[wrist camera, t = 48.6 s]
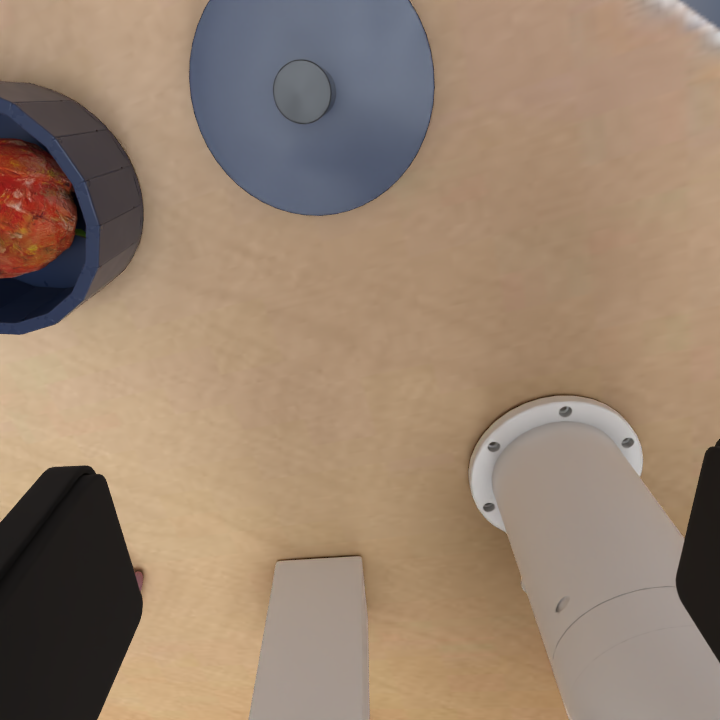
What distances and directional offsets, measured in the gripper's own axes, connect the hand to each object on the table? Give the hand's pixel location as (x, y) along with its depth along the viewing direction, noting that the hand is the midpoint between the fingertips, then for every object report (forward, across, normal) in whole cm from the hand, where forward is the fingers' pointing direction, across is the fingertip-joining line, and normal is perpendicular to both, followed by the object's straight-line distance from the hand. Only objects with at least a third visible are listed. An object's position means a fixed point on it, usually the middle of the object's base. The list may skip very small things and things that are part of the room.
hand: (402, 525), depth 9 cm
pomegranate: (+27, +19, -2) cm, 33 cm away
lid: (+27, +3, -7) cm, 28 cm away
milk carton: (+28, +6, +31) cm, 43 cm away
